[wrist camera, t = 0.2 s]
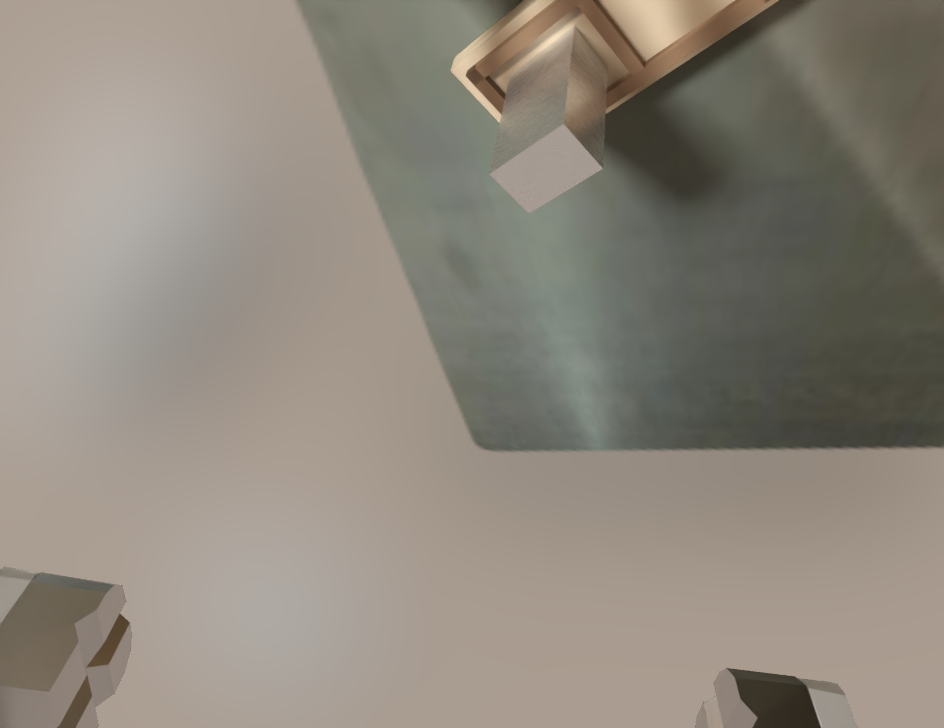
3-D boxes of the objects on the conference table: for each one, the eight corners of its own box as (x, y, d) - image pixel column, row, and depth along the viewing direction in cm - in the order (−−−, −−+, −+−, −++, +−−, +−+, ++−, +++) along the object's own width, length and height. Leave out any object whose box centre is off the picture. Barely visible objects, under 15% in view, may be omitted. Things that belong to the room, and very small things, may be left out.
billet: (574, 25, 53) (563, 123, 46) (608, 67, 55) (602, 168, 48) (509, 75, 57) (489, 173, 49) (543, 112, 59) (528, 213, 51)
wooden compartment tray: (718, -162, 45) (721, -145, 44) (795, -28, 50) (801, -8, 49) (454, 57, 58) (449, 76, 57) (537, 146, 64) (534, 166, 62)
